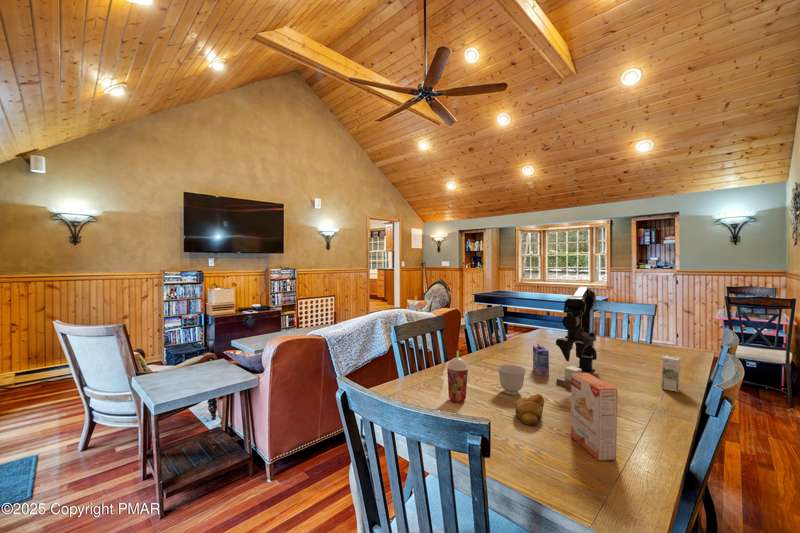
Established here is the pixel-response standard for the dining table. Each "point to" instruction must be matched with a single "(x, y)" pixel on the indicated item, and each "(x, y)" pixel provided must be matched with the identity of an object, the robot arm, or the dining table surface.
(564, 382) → the walnut board
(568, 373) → the sage cube
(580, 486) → the dining table surface
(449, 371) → the smoothie
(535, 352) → the ink cartridge box
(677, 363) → the syrup box
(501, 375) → the teacup
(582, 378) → the cracker box
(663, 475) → the dining table surface
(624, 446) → the dining table surface
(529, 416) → the bread roll
